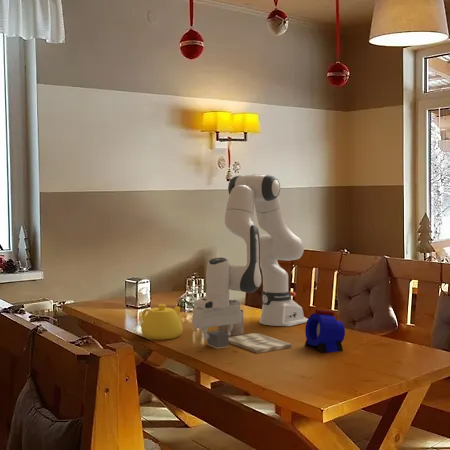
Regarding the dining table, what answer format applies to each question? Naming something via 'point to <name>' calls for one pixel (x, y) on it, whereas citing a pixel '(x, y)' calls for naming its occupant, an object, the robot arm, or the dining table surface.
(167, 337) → the teapot
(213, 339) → the block
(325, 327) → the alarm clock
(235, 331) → the planter
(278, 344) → the board
